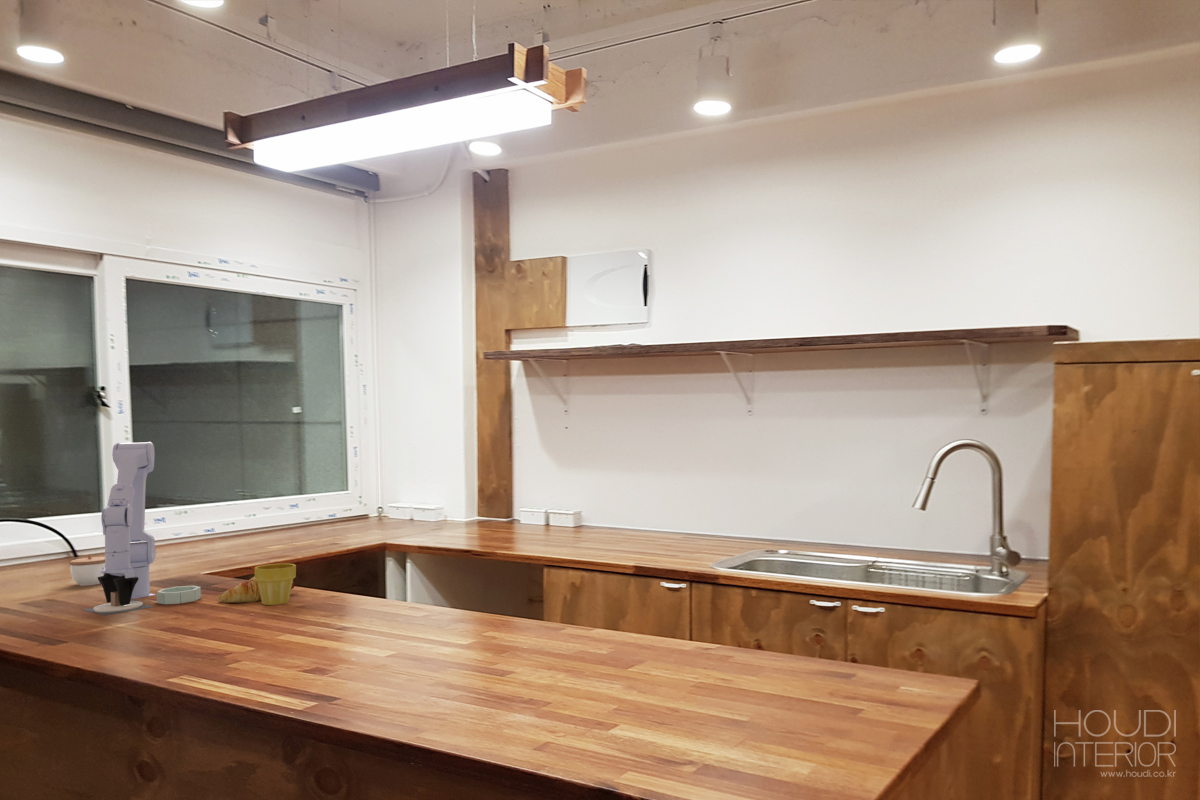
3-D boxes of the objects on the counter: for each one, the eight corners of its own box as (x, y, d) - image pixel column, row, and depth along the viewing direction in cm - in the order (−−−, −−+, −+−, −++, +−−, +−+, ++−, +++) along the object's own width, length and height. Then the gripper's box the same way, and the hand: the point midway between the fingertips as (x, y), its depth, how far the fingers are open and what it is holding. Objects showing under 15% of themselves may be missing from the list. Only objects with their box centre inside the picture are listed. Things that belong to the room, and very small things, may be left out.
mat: (82, 612, 223) (82, 609, 223) (130, 603, 232) (129, 601, 232) (105, 617, 214) (105, 615, 214) (154, 608, 224) (154, 606, 224)
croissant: (222, 619, 224) (227, 594, 222) (208, 598, 231) (213, 573, 228) (299, 604, 239) (304, 580, 237) (284, 584, 246) (289, 561, 243)
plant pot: (301, 598, 232) (301, 562, 232) (289, 605, 222) (288, 568, 222) (263, 599, 232) (262, 563, 232) (249, 607, 221) (248, 569, 222)
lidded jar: (117, 580, 273) (116, 551, 274) (94, 586, 263) (93, 556, 263) (86, 581, 274) (85, 552, 275) (61, 587, 264) (61, 557, 264)
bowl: (151, 603, 231) (151, 590, 231) (188, 597, 239) (187, 584, 239) (169, 607, 225) (169, 594, 225) (206, 600, 233) (206, 587, 233)
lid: (86, 610, 222) (85, 593, 222) (130, 602, 231) (130, 586, 231) (104, 614, 215) (104, 597, 216) (150, 606, 224) (150, 590, 224)
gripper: (89, 551, 225) (89, 603, 225) (113, 555, 216) (114, 609, 216) (117, 548, 231) (118, 598, 230) (142, 551, 222) (143, 603, 221)
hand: (118, 603), depth 223 cm, fingers open, 7 cm apart
